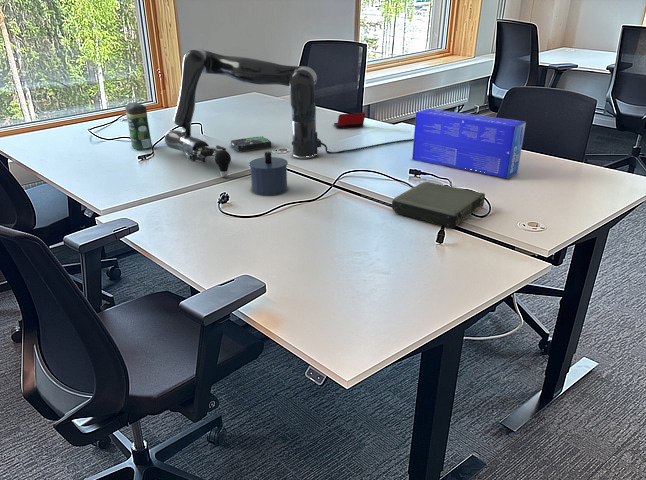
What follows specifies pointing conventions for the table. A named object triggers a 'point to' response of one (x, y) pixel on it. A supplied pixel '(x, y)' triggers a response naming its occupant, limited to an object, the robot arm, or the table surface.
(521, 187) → the table surface
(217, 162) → the light bulb
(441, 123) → the blue cardboard box
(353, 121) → the handheld console
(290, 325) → the table surface
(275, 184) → the pot
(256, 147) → the disk drive
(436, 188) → the network switch
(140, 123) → the coffee jar
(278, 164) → the pot lid
